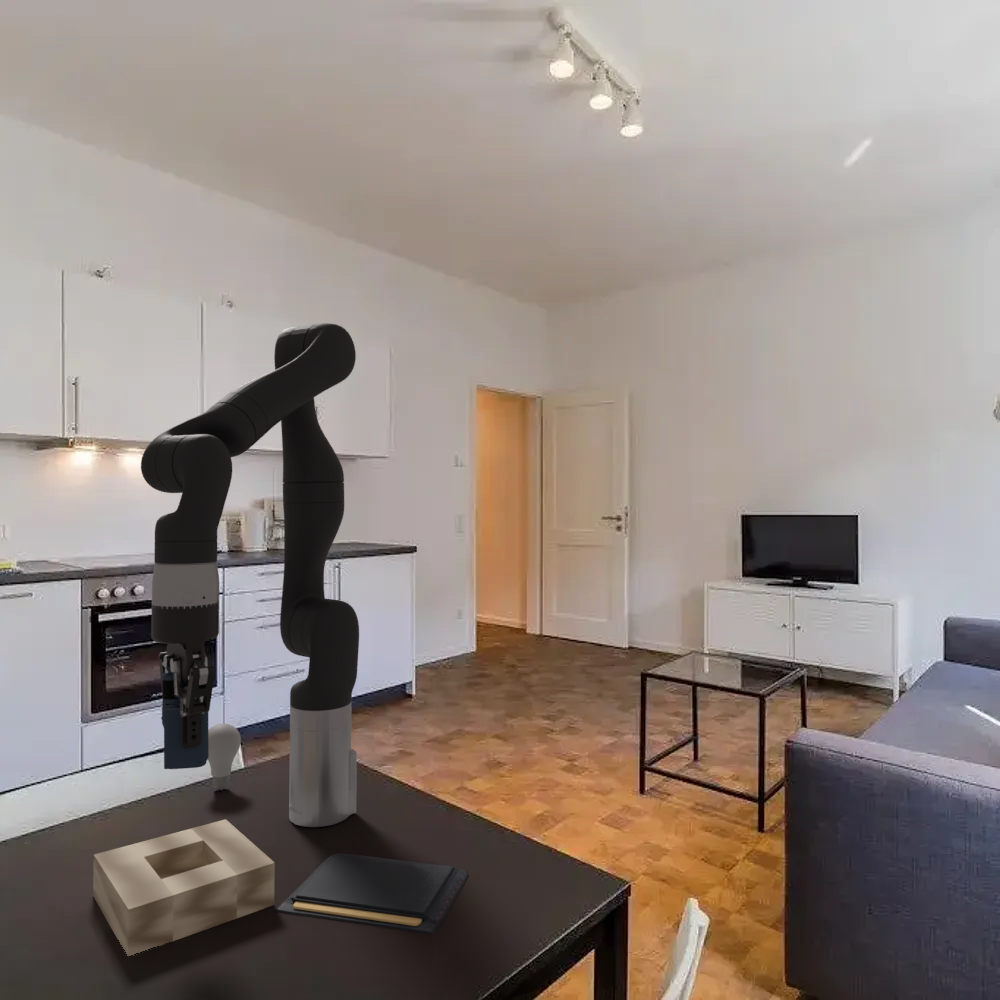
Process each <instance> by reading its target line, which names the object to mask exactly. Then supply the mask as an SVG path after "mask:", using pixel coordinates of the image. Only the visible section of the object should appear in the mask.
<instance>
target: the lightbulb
mask: <svg viewBox="0 0 1000 1000" xmlns="http://www.w3.org/2000/svg"><path fill="white" fill-rule="evenodd" d="M241 743H242V738H241V734H240V732H239V731H238V729H237V728H236V727H235V726H234V725H231V724H229V723H218V724H214V725H212V726H211V727H210V728H208V744H209V756H208V759H207V762H208V763H209V767H210V773H211V774H210V775H211V776H212V787H213V788H214V789H216V790H217V791H219V790H221V791H223V789H224V790H225V789H226V788H228V787H229V785H230V774H232V767H233V762H234V759H235V757H236V756H237V753H238V752H239V750H240V747H241Z"/></svg>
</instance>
